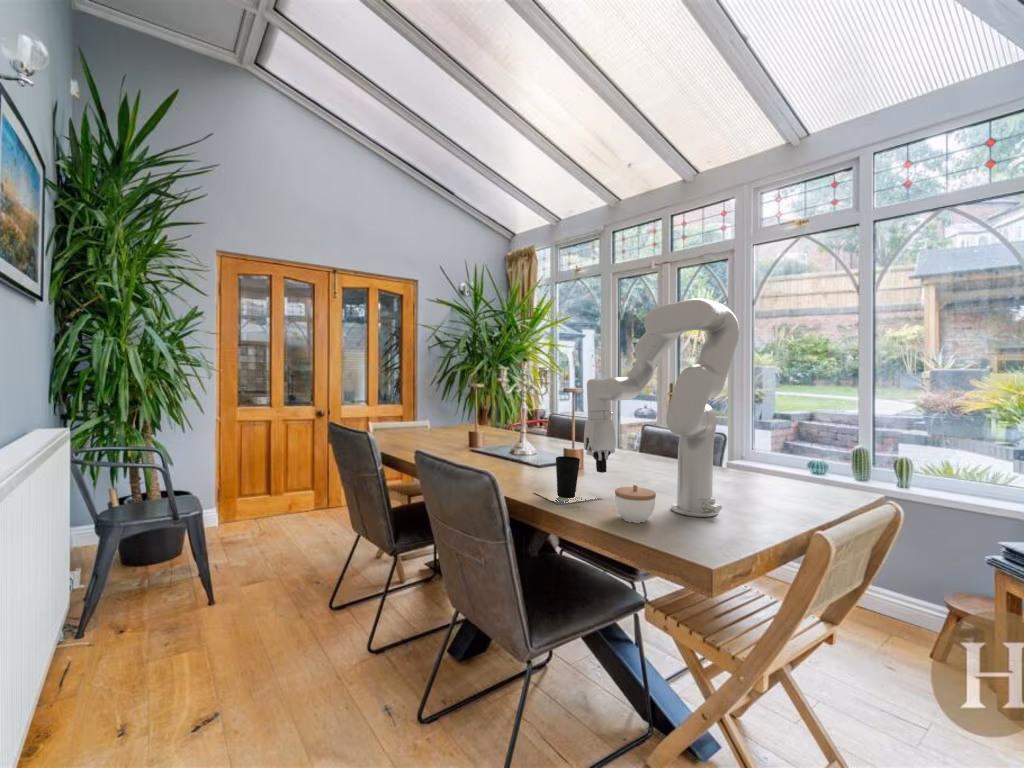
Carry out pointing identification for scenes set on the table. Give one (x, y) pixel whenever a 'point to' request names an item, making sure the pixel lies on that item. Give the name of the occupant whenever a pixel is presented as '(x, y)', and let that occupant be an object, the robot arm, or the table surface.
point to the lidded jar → (635, 503)
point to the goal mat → (562, 499)
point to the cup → (567, 475)
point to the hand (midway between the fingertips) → (601, 471)
